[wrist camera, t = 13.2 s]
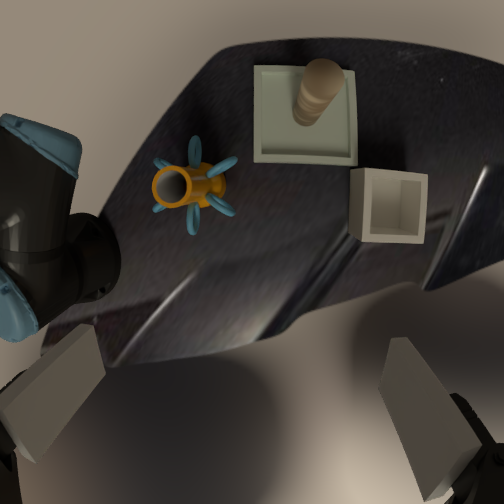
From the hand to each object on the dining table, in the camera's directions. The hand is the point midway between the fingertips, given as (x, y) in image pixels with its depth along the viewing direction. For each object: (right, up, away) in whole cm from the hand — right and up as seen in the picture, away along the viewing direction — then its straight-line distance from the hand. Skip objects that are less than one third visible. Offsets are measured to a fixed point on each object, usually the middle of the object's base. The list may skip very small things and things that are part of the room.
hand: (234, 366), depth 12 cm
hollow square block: (+19, +12, +29) cm, 36 cm away
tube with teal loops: (-6, +14, +30) cm, 34 cm away
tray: (+8, +24, +26) cm, 36 cm away
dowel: (+8, +24, +26) cm, 36 cm away
